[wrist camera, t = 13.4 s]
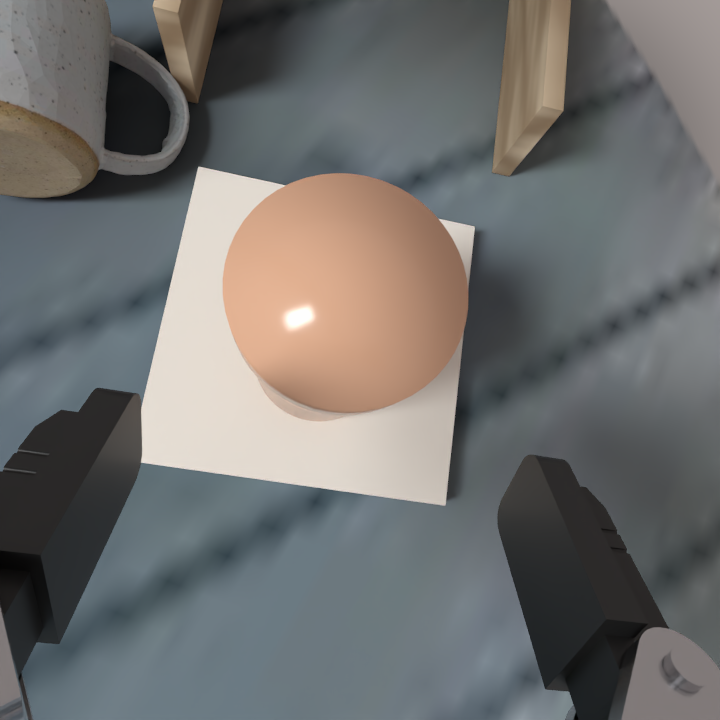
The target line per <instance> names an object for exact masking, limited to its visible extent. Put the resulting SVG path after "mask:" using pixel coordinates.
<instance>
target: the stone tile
mask: <svg viewBox="0 0 720 720" xmlns="http://www.w3.org/2000/svg"><path fill="white" fill-rule="evenodd" d="M284 186H286V185H281V184H276V183H272V182H267V181H263V180H258V179H254V178H249V177H244V176H240V175H235V174H231V173H226V172H221V171H217V170H212V169H208V168H203V167H198V171H197V175H196V179H195V183H194V188H193V192H192V196H191V200H190V205H189V209H188V213H187V217H186V222H185V226H184V230H183V234H182V239H181V243H180V247H179V251H178V255H177V260H176V264H175V268H174V272H173V277H172V281H171V285H170V289H169V294H168V298H167V302H166V306H165V311H164V315H163V319H162V323H161V328H160V332H159V336H158V340H157V345H156V349H155V353H154V357H153V361H152V366H151V370H150V374H149V378H148V383H147V387H146V391H145V395H144V400H143V404H142V408H141V422H142V458H141V463H148V464H155V465H162V466H169V467H176V468H183V469H190V470H197V471H204V472H211V473H218V474H225V475H232V476H240V477H247V478H254V479H261V480H268V481H275V482H282V483H289V484H296V485H303V486H310V487H317V488H324V489H331V490H338V491H345V492H352V493H359V494H366V495H373V496H380V497H387V498H394V499H402V500H409V501H416V502H423V503H430V504H437V505H444V506H445V504H446V495H447V486H448V476H449V467H450V457H451V448H452V438H453V429H454V419H455V410H456V400H457V391H458V382H459V372H460V363H461V353H462V344H463V334H464V331H463V334H462V337H461V340H460V342H459V344H458V346H457V348H456V351H455V353H454V354H453V356H452V357H451V359H450V360H449V362H448V363H447V365H446V366H445V367H444V368H443V370H442V371H441V372H440V373H439V374H438V375H437V377H436V378H434V379H433V380H432V381H431V382H430V383H429V384H428V385H426V386H425V387H424V388H422V389H421V390H419V391H418V392H416V393H415V394H413V395H412V396H410V397H408V398H406V399H404V400H402V401H400V402H397V403H395V404H393V405H391V406H388V407H386V408H383V409H380V410H377V411H374V412H371V413H365V414H360V415H347V416H344V417H341V418H338V419H335V420H330V421H308V420H304V419H300V418H297V417H294V416H292V415H290V414H288V413H286V412H284V411H283V410H282V409H280V408H279V407H277V406H276V405H275V404H274V403H273V402H272V401H271V400H270V399H269V397H268V396H267V395H266V394H265V392H264V390H263V389H262V387H261V385H260V383H259V381H258V378H257V376H256V375H255V374H254V373H253V372H252V370H251V369H250V368H249V367H248V365H247V364H246V362H245V360H244V359H243V357H242V356H241V354H240V352H239V349H238V347H237V345H236V343H235V341H234V338H233V335H232V332H231V329H230V326H229V323H228V320H227V316H226V313H225V307H224V301H223V272H224V265H225V261H226V257H227V253H228V250H229V247H230V245H231V243H232V240H233V238H234V236H235V234H236V232H237V230H238V229H239V227H240V226H241V224H242V222H243V221H244V220H245V218H246V217H247V216H248V215H249V214H250V212H251V211H252V210H253V209H254V208H255V207H256V206H257V205H258V204H259V203H260V202H262V201H263V200H264V199H265V198H266V197H268V196H269V195H271V194H272V193H274V192H275V191H277V190H278V189H280V188H282V187H284ZM439 220H440V222H441V223H442V224H443V225H444V227H445V228H446V230H447V231H448V233H449V234H450V236H451V237H452V239H453V241H454V243H455V245H456V247H457V249H458V251H459V253H460V256H461V259H462V262H463V264H464V268H465V273H466V277H467V284H468V287H469V277H470V268H471V259H472V249H473V240H474V230H475V227H474V226H469V225H465V224H460V223H455V222H451V221H446V220H442V219H439Z"/></svg>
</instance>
